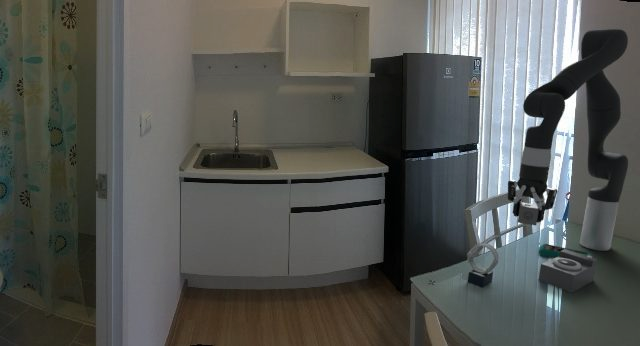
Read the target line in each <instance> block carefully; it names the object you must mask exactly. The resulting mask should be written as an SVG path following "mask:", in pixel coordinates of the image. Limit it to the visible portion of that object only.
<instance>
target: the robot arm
mask: <svg viewBox="0 0 640 346" xmlns="http://www.w3.org/2000/svg"><path fill="white" fill-rule="evenodd" d="M628 39H629V37H628V35H627V32H626V31H625V30H623V29H621V28H604V29H603V28H602V29H591V30H590V29H589V30H587V31H586V32H585V33H584V34H583V36H582V38H581V41H580V57H581V59H580V60H578V61H575V62H573V63H571V64H570V65H568V66H566V67H564V68H563V69H561V71H559V72H558V73H557V74H556V75H555V76H554V77H553V78H552V79H551V80H550V81H549V82H546V83H544V84H542V85H541V86H539V87H537V88H535V89H534V90H533V91H531V92H530V93H528V95H527V96H526V97H525V99H524V102H523V104H522V107H523V111H524V113H525V115H527V116H528V117H531V118H537V119H538V118H539V119H542V121H541V122H540V124H539V125H532V126H529V127H528V128H527V129H526V133H525V139H524V146H523V150H522V154H521V158H520V159H521V162H520V167H519V174H518V175H519V177H518V178H519V179H518V180H516V179H513V180H509V181H508V182H507V200H508V201H511V203H513V208H512V214H513V216H514V217H517V218H518V215H519V208H520V202H522V201H523V200H524V199H525V198H527V197H529V198H530V199H533V200H534V204H537V207H538V208H539V211H538V218H537V224H538V223H541V222H542V221H544V220H545V219H544V218H545V212H546V211H547V210H551V209H553V208H554V205H555V201H556V198H557V194H558V189H557V188H554V189H553V188H550V187H548V184H547V183H548V181H549V180H548V179H549V172H550V166H551V159H552V145H553V140H554V134H555V132H556V129H557V128H558V125H559V123H560V121H561V119H562V117H563V115H564V112H565V109H566V100H568V99H570V98H571V97H572V96H573V95H574V94H575V93H576V92H577V91H578V90H579V89H580V88H581V87H582V86H583V85H584V84H585V94H586V96H585V97H586V101H585V102H586V116H587V117H586V118H587V119H586V120H587V129H588V130H587V132H588V133H587V134H588V145H587V146H588V148H587V171H588V174H589V175H590V176H591V177H592V178H596V179H600V180H605V181H606V180H607V181H608V182H607V184H606V185H604V186H601V187H600V186H599V187H592V188H590V189H589V190H588V194H587V201H586V207H585V211H584V218H583V223H582V229H581V232H580V240H579V245H580V246H582V247H584V248H586V249H590V250H594V251H600V252H605V251H606V252H607V251H611V246H612V239H613V235H614V229H615V224H616V218H617V214H618V210H619V208H618V207H619V204H620V199H621V195H622V194H623V193H622V192H623V188H624V184H625V180H626V176H627V173H628V168H629V159H628V157H627V155H625V154H620V153H615V152H608V151H607V152H606V151H605V150H604V144H605V141H606V139H607V137H608V136H609V135H610V134H611V132H612V131H613V130H614V128H615V127H616V126H617V125H618V123H619V121H620V120H621V113H622V112H621V97H620V94H619V92H618V91H617V89H616V88H615V87H614V86H613V84H612V83H611V82H610V80H609V79H608V77H606V74H605V72H604V69H606V68H607V67H609V66H611V65H612V64H613V63H616V61H618V60H619V59H620V58H622V57H623V55H624V54H625V53H626V50H627V47H628V44H629V43H628V42H629V40H628ZM517 187H518V189H519V191H518V192H517ZM544 193H546V196H547V198H546V199H545V196H544ZM545 200H546V201H545Z"/></svg>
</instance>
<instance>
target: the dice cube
mask: <svg viewBox="0 0 640 346" xmlns="http://www.w3.org/2000/svg"><path fill="white" fill-rule="evenodd" d="M538 211H539V208H538V207H537V204H536V203H529V202H522V201H521V202H520V208H519V215H518V216H517V224H523V225H530V226H537V224H538V222H537V218H538Z"/></svg>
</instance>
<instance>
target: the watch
mask: <svg viewBox="0 0 640 346" xmlns="http://www.w3.org/2000/svg"><path fill="white" fill-rule="evenodd" d="M483 248H486V249H487V250H489V251H490V252H491V254H492V256H493V260H492V263H490V266H489V267H488V268H484V267H480V266H477V264H476V263H475V261H474V258H475V257H476V256H477V255H478V254H480V253H481V251H482V250H483ZM466 256H467V258H466V259H467V262H468V264H469V266H470V268H471V269H472V270H470V271H468V276H467V277H468V278H467V283H468V284H471V285H475V286H477V287H480V288H481V289H483V288H484V287H486V286H488V285H489V284H491V283H492V282H493V274H494V271H492V270H494V269H495V267H496V266H497V265H498V264H499V253H498V252H497V249H496V248H495V247H494V246H492V245H491V244H489V243H486V242H482V243H481V242H478V243H476V244H475V245H474V246H473V247H471V249H470V250H469V251H468V252H467V254H466Z"/></svg>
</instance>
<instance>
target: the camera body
mask: <svg viewBox="0 0 640 346" xmlns="http://www.w3.org/2000/svg"><path fill="white" fill-rule="evenodd" d="M597 263H598V258H594V257H593V256H592V255H591V256H585V255H582V254H579V253H576V252H572V251H569V250H566V249H564V250H561V251H560V255H559V256H558V257H556V258H550V259H549V260H546V261H545V262H541V263H540V268H539V275H538V279H537V280H538V282H542V283H544V284H547V285H550V286H552V287H555V288H557V289H560V290H564V291H565V292H568V293H575V292H576V291H578V290H579V289H581V288H584V287H585V286H586V285H588V284H591V283H593V282H594V280H595V275H596V268H597Z"/></svg>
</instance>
